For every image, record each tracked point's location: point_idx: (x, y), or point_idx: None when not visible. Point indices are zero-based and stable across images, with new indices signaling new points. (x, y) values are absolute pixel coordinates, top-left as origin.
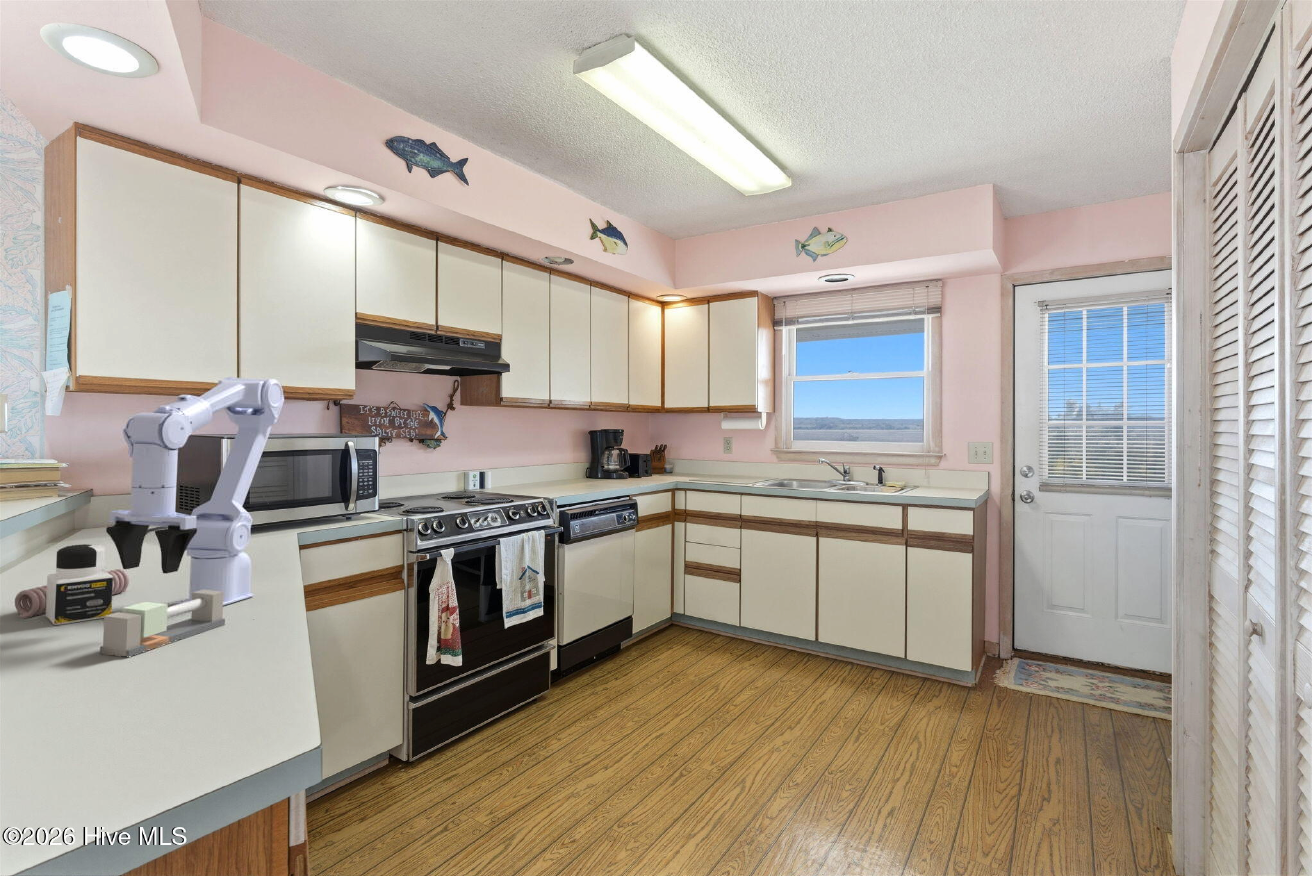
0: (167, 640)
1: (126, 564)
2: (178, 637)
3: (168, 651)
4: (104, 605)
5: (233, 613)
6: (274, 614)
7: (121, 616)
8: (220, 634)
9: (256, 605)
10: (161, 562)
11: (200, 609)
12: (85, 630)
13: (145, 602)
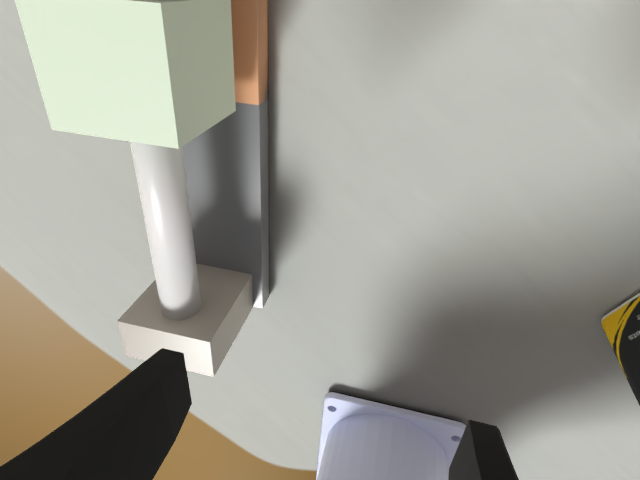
0: None
1: (472, 453)
2: None
3: None
4: (636, 341)
5: (249, 364)
6: None
7: None
8: (111, 200)
9: (255, 419)
10: (132, 400)
11: (200, 291)
12: (580, 169)
13: (166, 137)
